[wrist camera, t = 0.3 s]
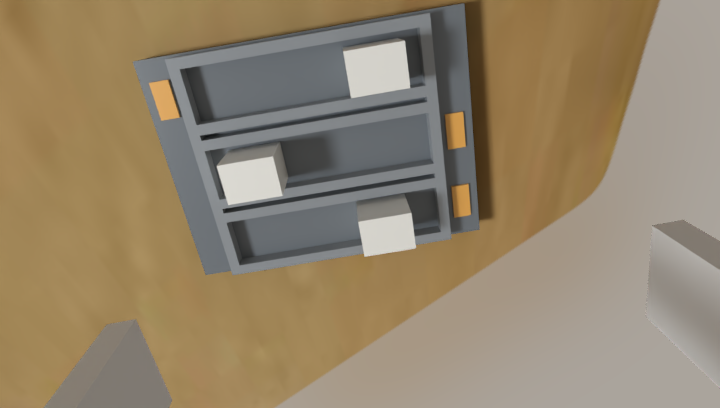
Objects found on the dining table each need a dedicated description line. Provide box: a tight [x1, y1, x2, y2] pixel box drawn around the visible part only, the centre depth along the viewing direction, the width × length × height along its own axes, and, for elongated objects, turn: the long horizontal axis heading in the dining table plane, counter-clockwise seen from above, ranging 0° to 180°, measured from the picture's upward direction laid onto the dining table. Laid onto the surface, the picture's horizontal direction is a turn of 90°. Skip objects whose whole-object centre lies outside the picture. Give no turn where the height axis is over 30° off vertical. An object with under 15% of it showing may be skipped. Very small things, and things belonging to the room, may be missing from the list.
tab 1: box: [217, 142, 288, 205], centre depth 34 cm, size 3×4×4 cm
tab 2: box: [343, 38, 410, 98], centre depth 31 cm, size 3×4×4 cm
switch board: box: [133, 3, 480, 275], centre depth 36 cm, size 18×24×3 cm
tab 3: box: [356, 194, 416, 257], centre depth 36 cm, size 3×4×4 cm
